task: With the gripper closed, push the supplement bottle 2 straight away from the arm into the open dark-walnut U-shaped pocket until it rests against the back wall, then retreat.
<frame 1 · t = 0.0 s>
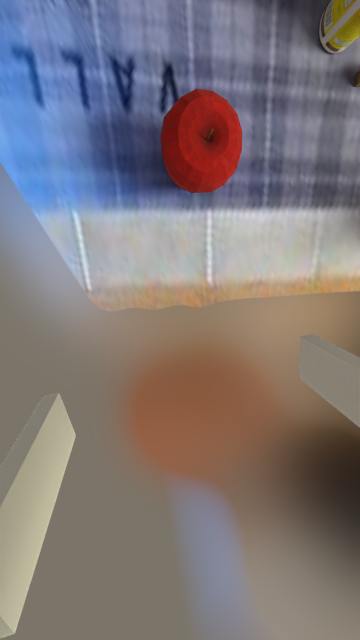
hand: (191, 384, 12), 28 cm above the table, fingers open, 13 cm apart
supplement bottle 2: (333, 31, 32), on the table
apple: (188, 165, 34), on the table
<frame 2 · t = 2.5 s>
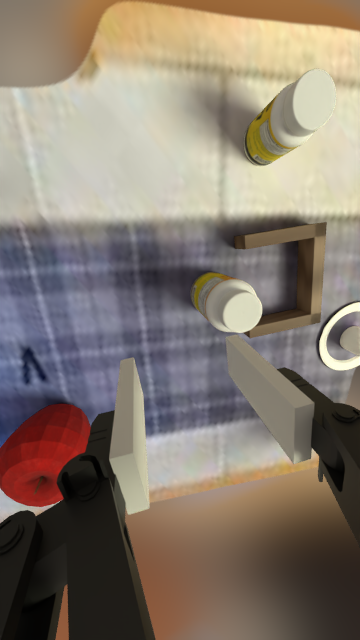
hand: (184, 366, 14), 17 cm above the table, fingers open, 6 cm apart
candle holder: (347, 335, 38), on the table
supplement bottle 2: (208, 291, 31), on the table
supplement bottle: (260, 143, 26), on the table
apple: (65, 416, 33), on the table
pocket: (267, 280, 32), on the table
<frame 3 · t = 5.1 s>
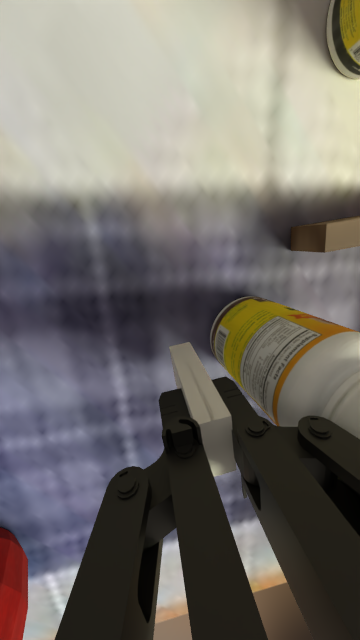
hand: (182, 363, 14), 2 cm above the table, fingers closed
supplement bottle 2: (240, 330, 17), on the table, touching gripper
supplement bottle: (358, 29, 13), on the table
pocket: (341, 306, 18), on the table
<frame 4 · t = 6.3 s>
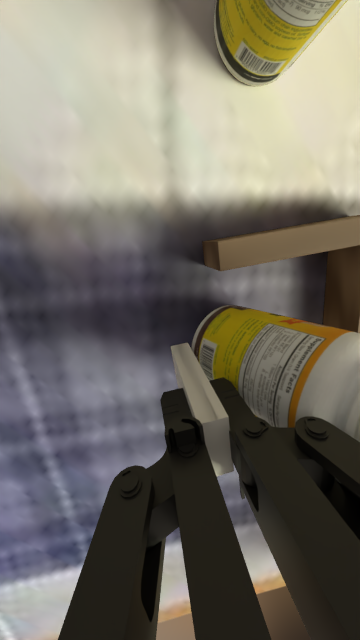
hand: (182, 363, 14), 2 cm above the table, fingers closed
supplement bottle 2: (218, 341, 16), point 1 cm above the table, touching gripper, hand
supplement bottle: (254, 33, 12), on the table
pocket: (269, 322, 17), on the table
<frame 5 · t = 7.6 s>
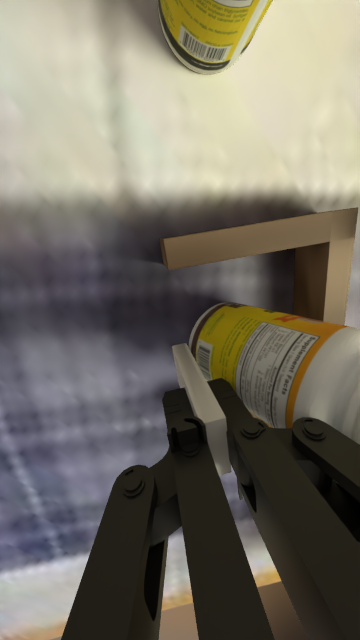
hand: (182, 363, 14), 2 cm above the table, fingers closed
supplement bottle 2: (215, 338, 16), point 1 cm above the table, touching gripper, hand
supplement bottle: (204, 17, 11), on the table
pocket: (236, 322, 17), on the table
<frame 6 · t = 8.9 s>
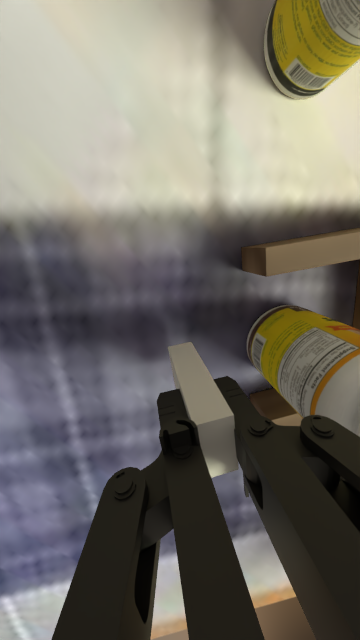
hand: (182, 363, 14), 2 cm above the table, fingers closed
supplement bottle 2: (276, 336, 18), on the table
supplement bottle: (299, 49, 12), on the table
pocket: (301, 326, 17), on the table
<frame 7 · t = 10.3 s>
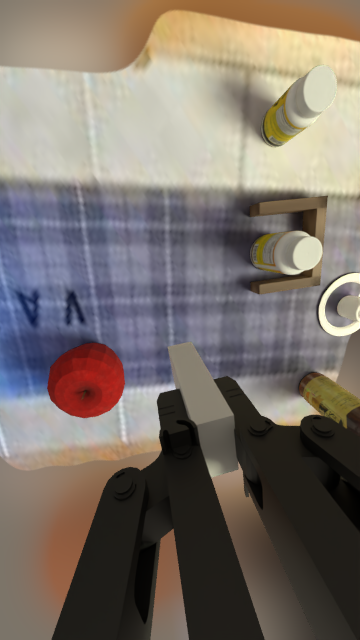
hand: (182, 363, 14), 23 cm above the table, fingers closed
candle holder: (343, 304, 43), on the table
sauce bottle: (310, 384, 47), on the table
supplement bottle 2: (264, 252, 37), on the table
supplement bottle: (275, 128, 32), on the table
apple: (96, 358, 38), on the table
pocket: (276, 247, 37), on the table
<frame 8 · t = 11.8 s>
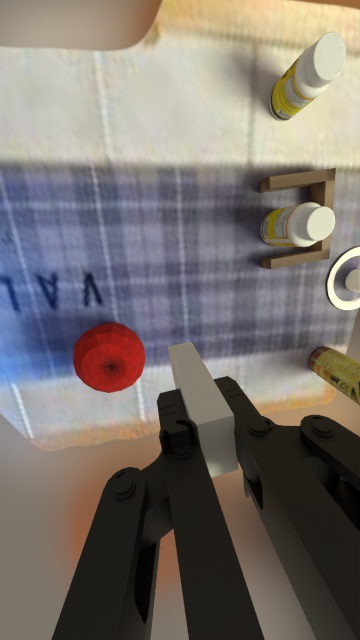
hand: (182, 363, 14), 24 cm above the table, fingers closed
candle holder: (351, 278, 44), on the table
sauce bottle: (320, 358, 49), on the table
supplement bottle 2: (273, 228, 38), on the table
supplement bottle: (282, 102, 33), on the table
apple: (114, 339, 39), on the table
pocket: (285, 223, 38), on the table
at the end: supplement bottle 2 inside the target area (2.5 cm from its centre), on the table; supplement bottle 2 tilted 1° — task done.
